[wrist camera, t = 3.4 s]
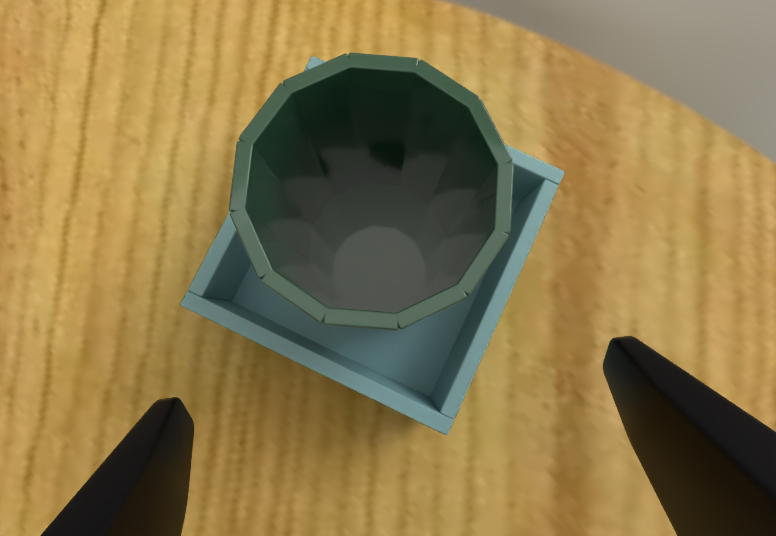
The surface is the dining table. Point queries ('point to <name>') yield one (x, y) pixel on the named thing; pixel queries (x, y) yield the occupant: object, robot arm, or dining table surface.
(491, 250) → the cup
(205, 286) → the bin
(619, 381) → the robot arm
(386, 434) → the dining table surface
